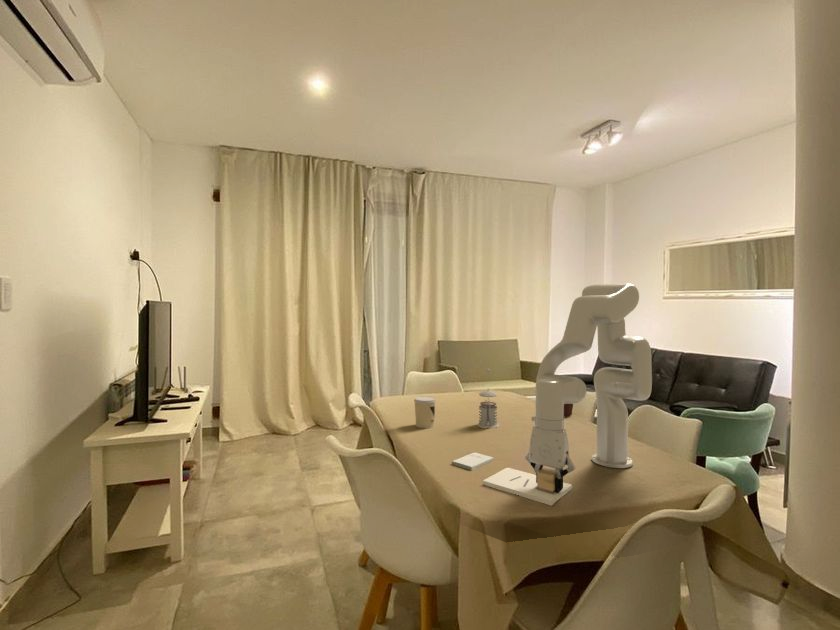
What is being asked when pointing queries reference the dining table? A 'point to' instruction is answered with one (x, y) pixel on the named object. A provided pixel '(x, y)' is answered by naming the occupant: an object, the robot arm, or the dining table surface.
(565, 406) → the muffin
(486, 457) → the external hard drive
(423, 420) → the coffee cup
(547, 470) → the block
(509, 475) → the board
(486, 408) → the french press
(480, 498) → the dining table surface
